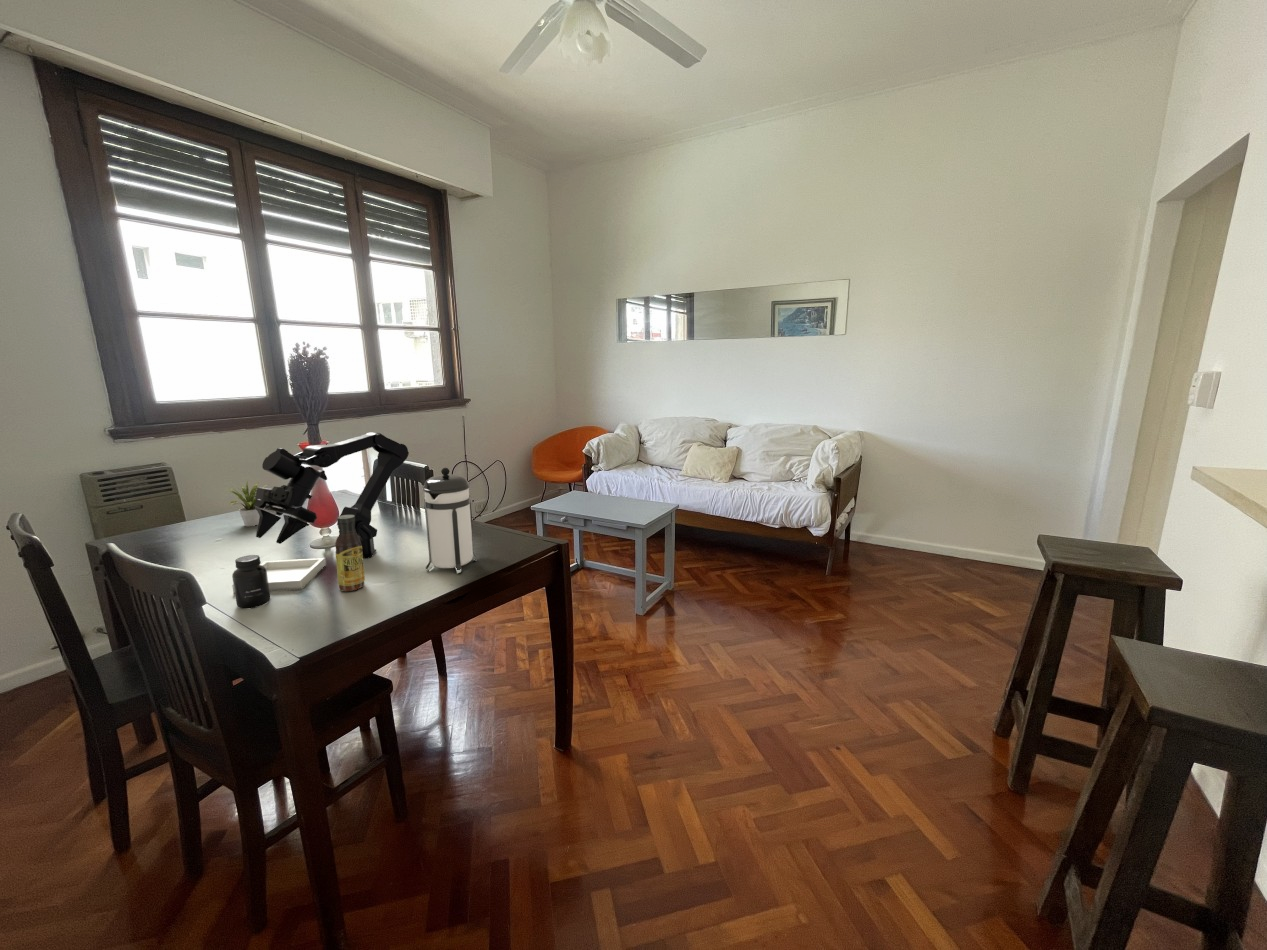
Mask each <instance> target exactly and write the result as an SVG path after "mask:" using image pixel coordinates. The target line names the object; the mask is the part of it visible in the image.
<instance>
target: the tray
mask: <svg viewBox="0 0 1267 950" xmlns="http://www.w3.org/2000/svg"><path fill="white" fill-rule="evenodd" d="M325 558H326V557H318V558H301V559H297V558H296V559H283V560H282V559H281V560H264V561H263V562H262V563H261V564H260V565H262V566H264V567H265V568H266V570H267V577H268V584H269V591H270V592H279V591H280V592H281V591H294V590H296V591H297V590H298V589H299V590H303V588H305V587H306V585H308V583H310V582H311V581H312V580H313V579H314V578H315V577H316V576H317V575H318V574H319V573H320V572H321V571H322V570H323V569H324V568H325V567H326V566H327V565H326V559H325ZM324 566H325V567H324ZM323 567H324V568H323ZM321 569H322V570H321ZM320 570H321V571H320ZM319 571H320V572H319ZM318 572H319V573H318ZM317 573H318V574H317ZM231 587H232V592H233V594H234V595H235V591H234V585H233V584H232V585H231Z"/></svg>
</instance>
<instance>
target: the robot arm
mask: <svg viewBox="0 0 1267 950" xmlns="http://www.w3.org/2000/svg"><path fill="white" fill-rule="evenodd" d="M326 444H327V443H326ZM326 444H316V445H314V444H312V445H308V446H305V447H304V449H303V450H302V451H301V452H298V453H296V454H292V453H290V452H289V451H288V450H286V449H284V448H283V447H282V448H281V447H277V448H276V450H275V451H273V452H271V453H270V454H269V455H268V456H267V457H265V458H264V460H263V462H262V469H263V470H264V471H266V472H268V473H270V474H272V475H275V476H276V477H278V478H280V479H282V480H289V481H288V483H287V484H283V485H281V486H273V487H272V488H270V487H263V488H262V487H259V486H257V491H256V492H255V493H256V495H255V497H254V498H255V499H256V500H257V499H258V500H257V501H256V503H255V504H254V506H255V507H257V508H255V509H256V510H257V511H258V514H259V516H260V517H259V524H258V525H257V529H256V534H255V537H256V538H258V539H261V538H262V537H263V536H265V535H266V534H267V533H268V532H269V531H270V530H271V529H272V527H273V526H275V525H276V524H277V523H278V522H279V521H280V519H282V517H281V516H283V520H284V523H283V526H282V528H281V530H280V532H279V534H278V536H277V539H276V541H275V542H276V544H280V545H281V544H282V543H284V542H285V541H287V540H288V539H290V538H291V537H292V536H293V535H295V534H296V533H298V532H299V531H301V530H303V529H305V528H306V527H310V524H313V525H314V524H315V522H316V520H317V518H318V517H317V516H318V515H317V513H316V512H314V511H312V510H309V509H307V508H305V507H303V506H304V504H305V502H306V501H307V499H308V500H311V499H312V497H313V495H311V492H312V490H313V489H314V487H315V485H316V484H317V482H318V480H323V481H327V480H328V477H327V475H326V471H325V470H324V469H323V470H322V469H316V468H314V467H317V468H328V467H330V466H332V465H335V464H336V463H339V461H340V459H342V458H343V457H346V456H349V455H352V454H355V453H359V452H361V451H365V450H367V449H370V448H372V449H373V450H374V451H376V453H378V454H377V464H376V467H375V468H374V470H373V472H372V474H370V477H369V479H368V481H367V483H366V484H365V486H364V488H363V490H362V491H361V493H360V495H359V496H358V497H357V500H356V502H355V503H354V504H353V505H351V507H350V506H344V507H343V509H342V511H341V513H340V515H339V516H342V515H354V516H355V529H356V533H357V535H358V536H359V538H360V541H361V545H362V553H363V559H371V558H372V557H373V556H374V555H375V554H376V553H377V549H376V548H375V543H374V542H375V541H374V540H375V539H374V538H375V537H377V534H378V529H377V528H375V527H374V526H372V525H371V522H372V509H373V508H374V506H375V504H376V502H377V501H378V499H379V497H380V495H381V494H382V493H383V490H384V488H385V486H386V484H387V483H388V481H389V479H390V477H391V476H392V474H393V472H394V471H395V470H397V469H398V468H400V466H402V465H403V464H404V462H405V461H406V460H407V459H408V457H409V454H410V453H409V452H410V451H409V449H408V446H407V445H406V444H404V443H399V442H397V441H395V440H393V439H391V438H388V437H387V436H385V435H384V434H382V433H380V432H372V431H371V432H370V431H369V432H367V433H366V434H362V435H360V436H355V437H352V438H348V439H345V440H342V441H338V442H335V443H330V444H329V443H328V444H327V445H326ZM304 465H306V466H304ZM336 525H337V529H338V530H339V524H338V522H337V523H336Z"/></svg>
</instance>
